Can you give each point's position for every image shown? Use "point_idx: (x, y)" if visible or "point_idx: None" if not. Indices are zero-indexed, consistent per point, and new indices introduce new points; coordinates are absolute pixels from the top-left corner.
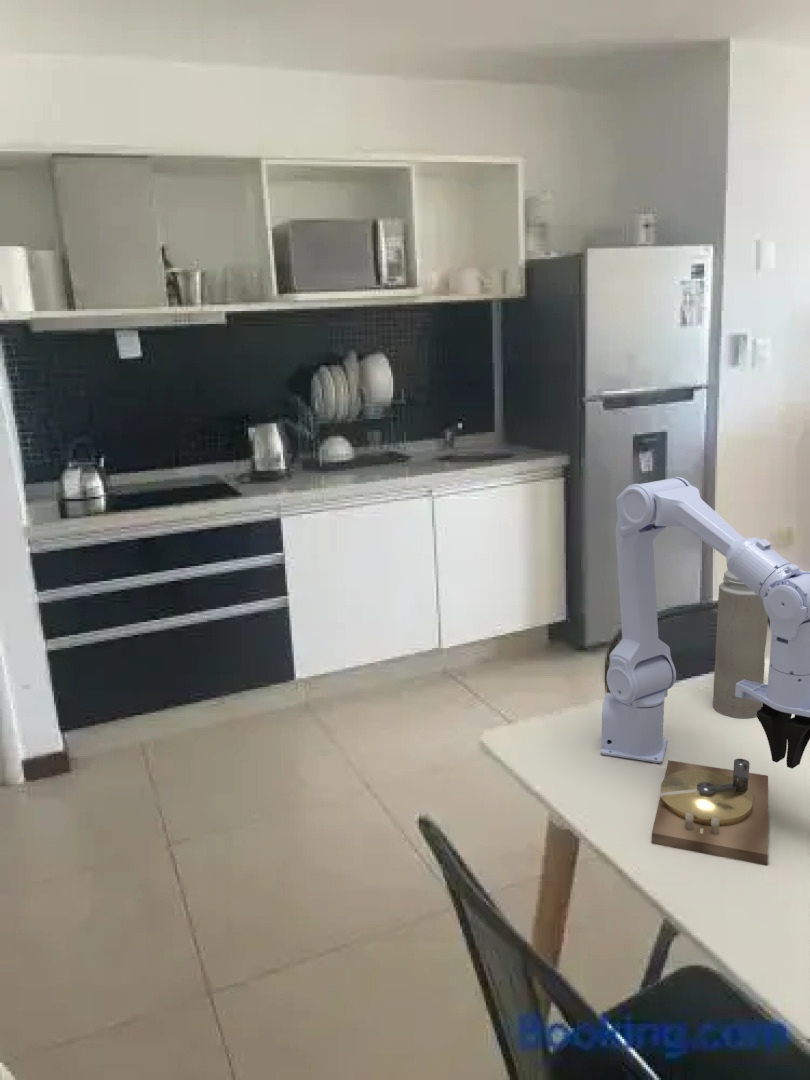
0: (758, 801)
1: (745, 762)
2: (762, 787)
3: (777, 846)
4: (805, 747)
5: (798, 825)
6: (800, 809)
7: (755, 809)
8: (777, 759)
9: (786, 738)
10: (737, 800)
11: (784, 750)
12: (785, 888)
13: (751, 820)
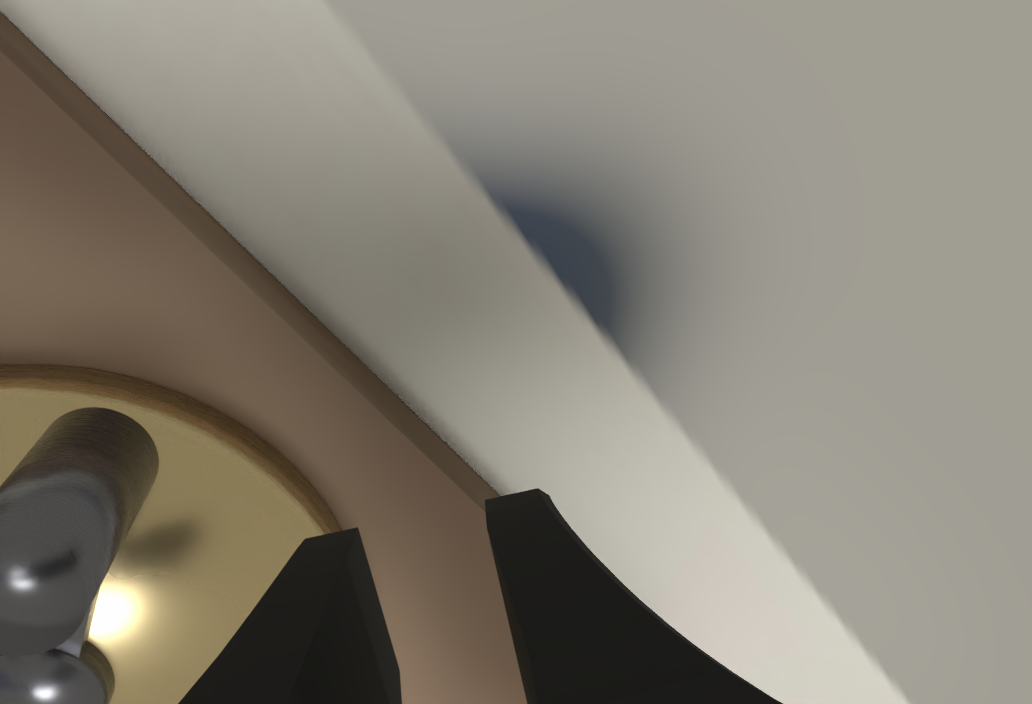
0: (221, 346)
1: (29, 573)
2: (65, 167)
3: (566, 486)
4: (617, 580)
5: (482, 220)
6: (348, 40)
7: (292, 433)
8: (396, 687)
9: (316, 676)
10: (234, 581)
11: (355, 606)
12: (800, 679)
13: (381, 542)
